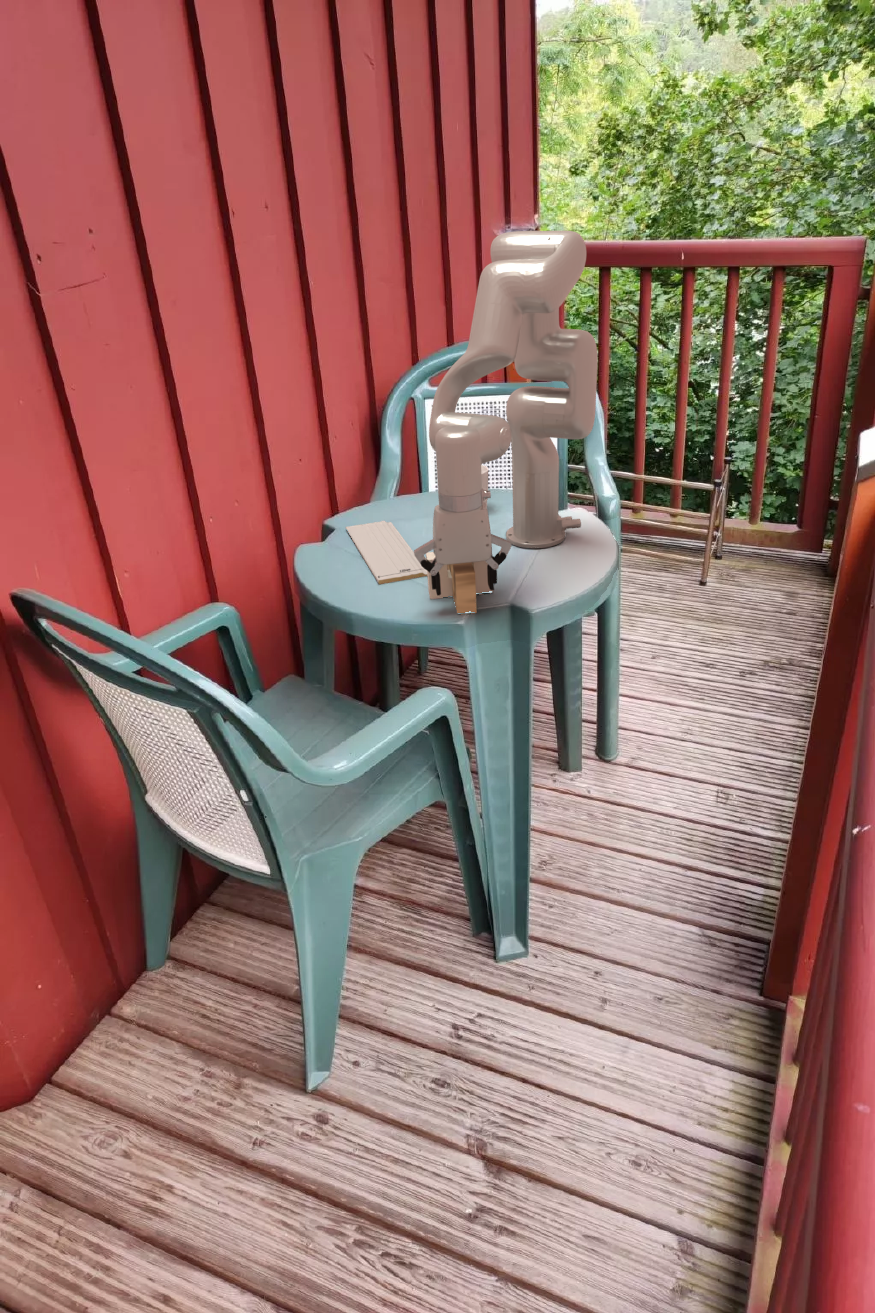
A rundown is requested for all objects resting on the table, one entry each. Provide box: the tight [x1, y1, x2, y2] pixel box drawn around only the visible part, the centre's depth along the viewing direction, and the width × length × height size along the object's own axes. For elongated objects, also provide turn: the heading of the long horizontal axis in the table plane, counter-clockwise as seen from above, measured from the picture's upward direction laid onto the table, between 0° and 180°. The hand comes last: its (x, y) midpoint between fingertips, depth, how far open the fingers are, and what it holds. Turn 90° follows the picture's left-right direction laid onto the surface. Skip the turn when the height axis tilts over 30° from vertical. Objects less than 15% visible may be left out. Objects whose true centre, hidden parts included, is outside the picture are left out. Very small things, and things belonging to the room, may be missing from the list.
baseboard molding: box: [345, 520, 428, 585], centre depth 190 cm, size 31×3×12 cm
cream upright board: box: [425, 551, 494, 600], centre depth 169 cm, size 12×4×8 cm, turn 96°
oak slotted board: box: [447, 563, 478, 614], centre depth 169 cm, size 18×4×8 cm, turn 6°
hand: (464, 589), depth 163 cm, fingers open, 9 cm apart
